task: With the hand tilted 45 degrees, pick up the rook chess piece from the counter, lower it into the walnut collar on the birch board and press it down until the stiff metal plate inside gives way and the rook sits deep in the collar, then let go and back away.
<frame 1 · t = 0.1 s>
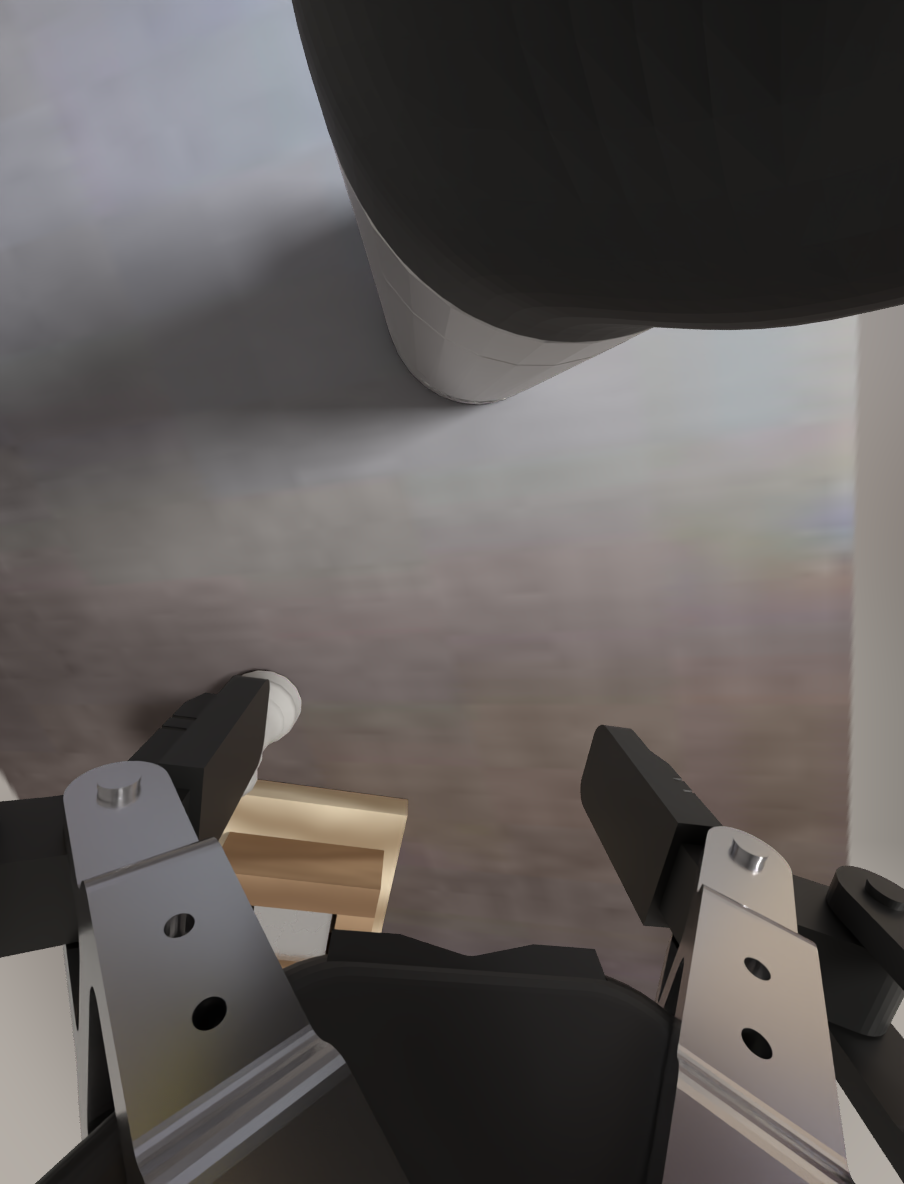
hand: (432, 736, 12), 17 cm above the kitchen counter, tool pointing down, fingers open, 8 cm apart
press socket: (304, 880, 35), on the kitchen counter
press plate: (291, 927, 31), point 3 cm above the kitchen counter, slide at 0.0 cm
rook chess piece: (268, 697, 31), on the kitchen counter
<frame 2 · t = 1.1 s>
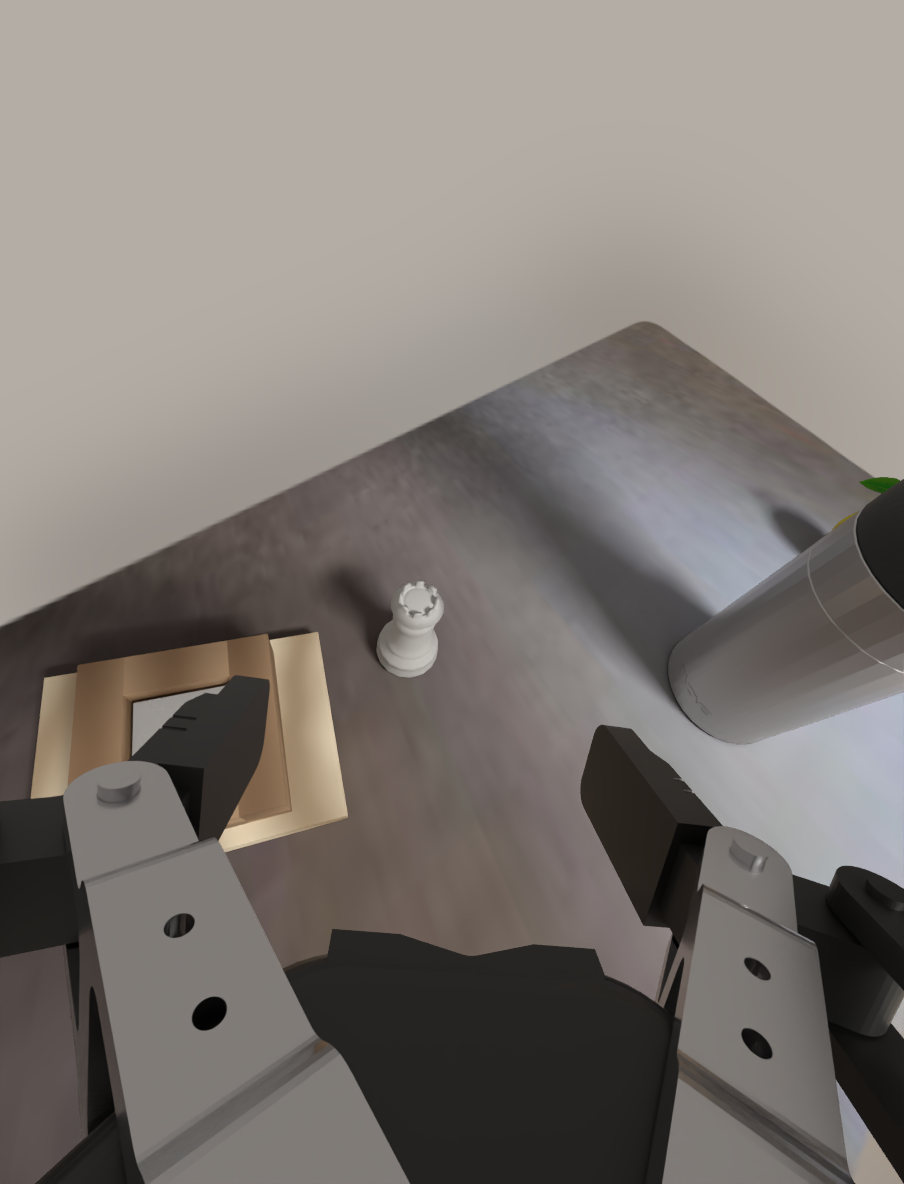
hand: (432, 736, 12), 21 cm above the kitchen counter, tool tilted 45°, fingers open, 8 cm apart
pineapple: (830, 562, 49), on the kitchen counter
press socket: (200, 751, 30), on the kitchen counter
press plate: (183, 737, 27), point 3 cm above the kitchen counter, slide at 0.0 cm
rook chess piece: (406, 652, 36), on the kitchen counter
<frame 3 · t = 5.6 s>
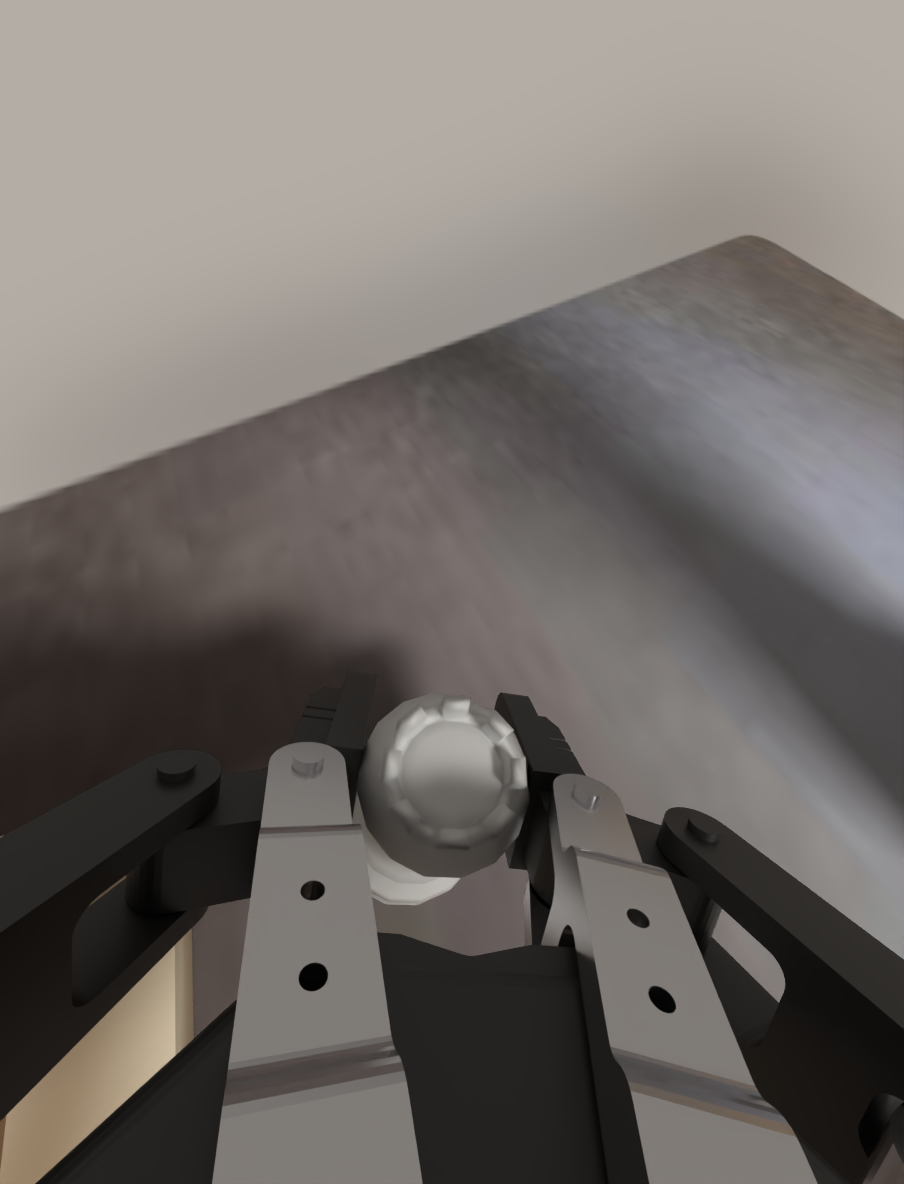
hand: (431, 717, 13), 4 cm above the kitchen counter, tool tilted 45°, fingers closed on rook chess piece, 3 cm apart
rook chess piece: (404, 820, 15), on the kitchen counter, touching gripper
when the fingers open (6 cm above the kitchen counter, at t = 12.1 s): rook chess piece stays where it is, resting on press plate.
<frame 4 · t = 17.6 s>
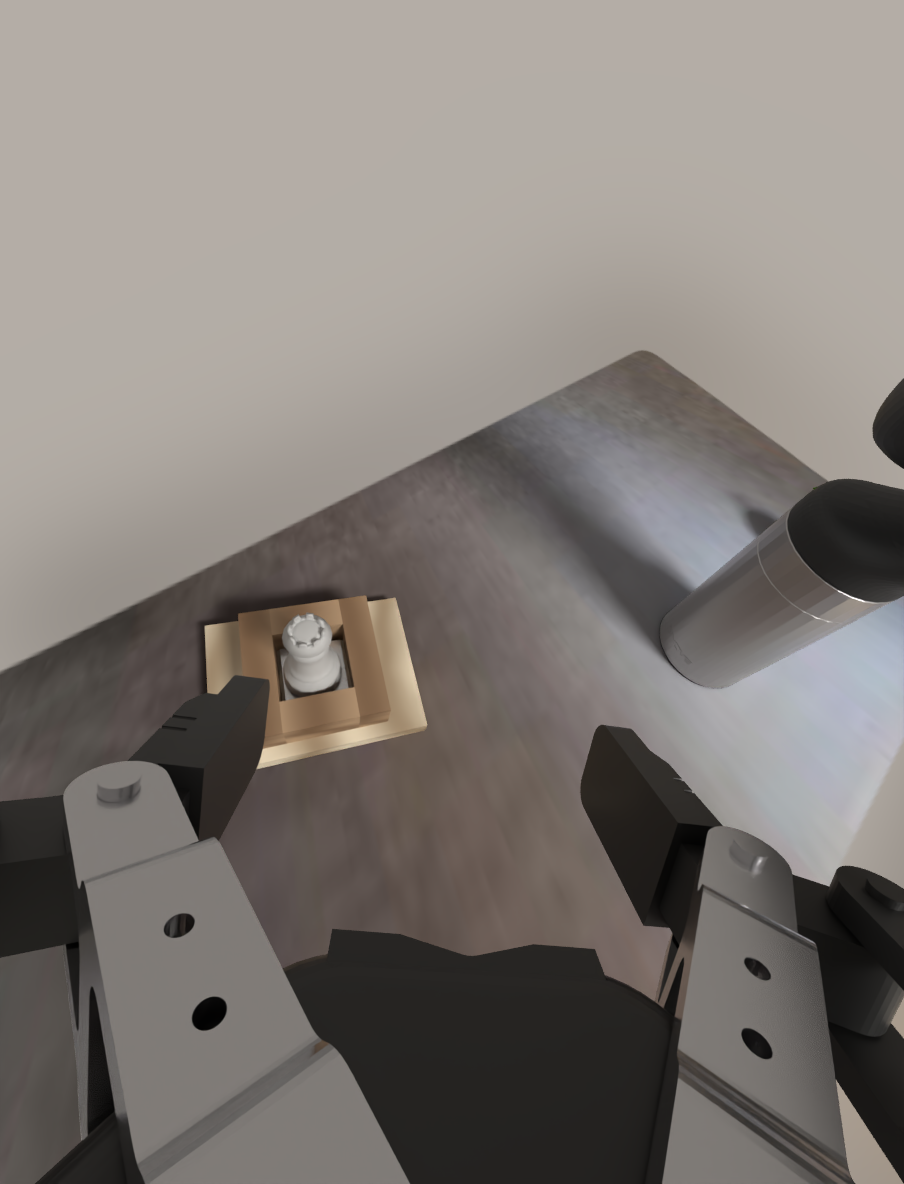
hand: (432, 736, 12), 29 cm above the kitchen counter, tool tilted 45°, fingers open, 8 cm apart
press socket: (315, 681, 41), on the kitchen counter
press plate: (314, 673, 39), point 2 cm above the kitchen counter, slide at -1.6 cm, touching press socket, rook chess piece
rook chess piece: (313, 674, 39), point 2 cm above the kitchen counter, touching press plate
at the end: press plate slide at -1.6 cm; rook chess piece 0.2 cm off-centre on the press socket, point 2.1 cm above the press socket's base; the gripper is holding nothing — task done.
